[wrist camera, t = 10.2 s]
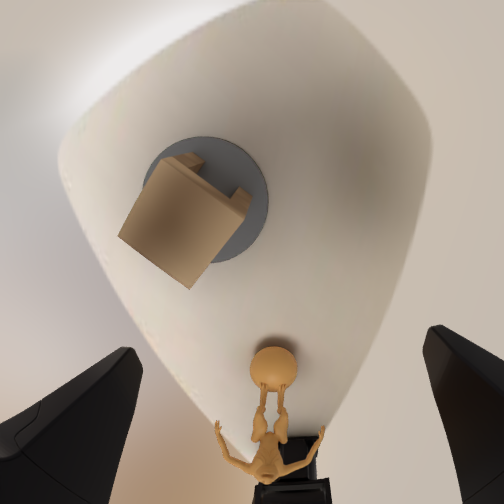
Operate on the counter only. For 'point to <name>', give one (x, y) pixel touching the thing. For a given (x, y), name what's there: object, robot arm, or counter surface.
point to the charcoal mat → (227, 184)
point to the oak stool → (182, 219)
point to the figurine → (268, 456)
